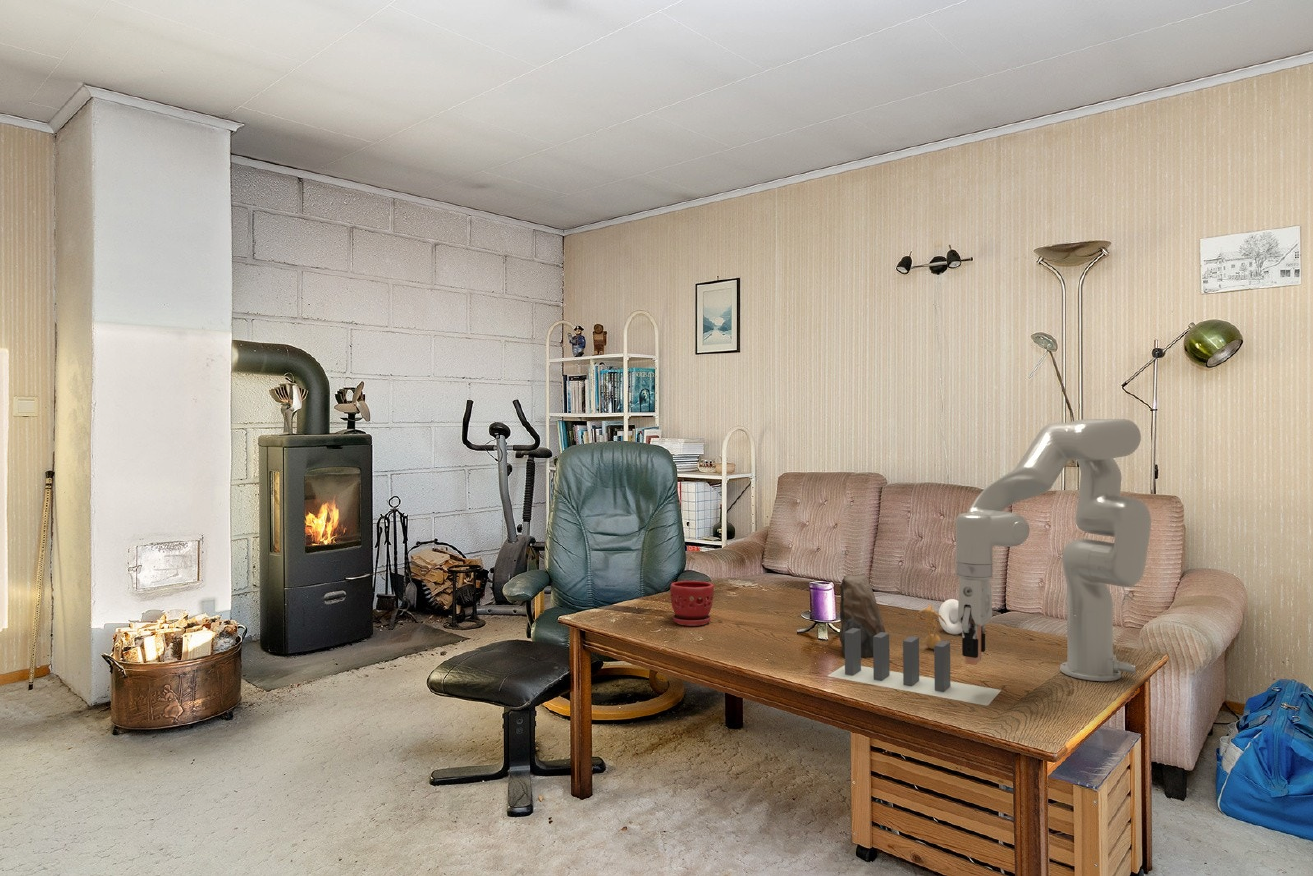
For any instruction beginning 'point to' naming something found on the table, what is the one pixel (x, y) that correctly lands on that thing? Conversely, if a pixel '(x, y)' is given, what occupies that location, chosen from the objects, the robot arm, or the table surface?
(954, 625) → the white knot sculpture
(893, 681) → the felt mat
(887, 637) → the slate domino
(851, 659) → the slate domino
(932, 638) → the figurine
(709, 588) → the plant pot
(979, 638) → the rust domino
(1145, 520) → the robot arm
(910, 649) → the slate domino
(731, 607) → the table surface
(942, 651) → the slate domino
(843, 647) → the tall jagged boulder
